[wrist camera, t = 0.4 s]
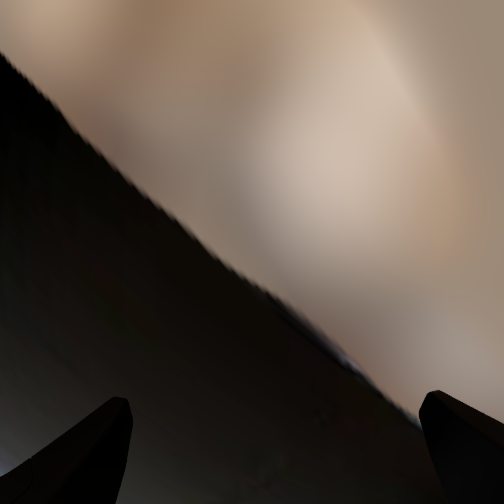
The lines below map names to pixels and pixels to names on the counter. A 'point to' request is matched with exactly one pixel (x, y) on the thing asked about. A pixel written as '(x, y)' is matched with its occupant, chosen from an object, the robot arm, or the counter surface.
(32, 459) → the robot arm
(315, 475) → the counter surface
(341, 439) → the counter surface
